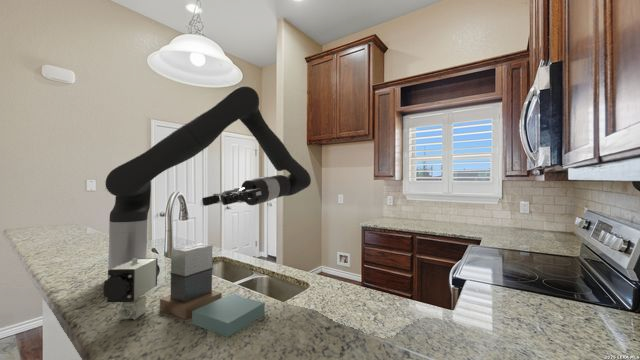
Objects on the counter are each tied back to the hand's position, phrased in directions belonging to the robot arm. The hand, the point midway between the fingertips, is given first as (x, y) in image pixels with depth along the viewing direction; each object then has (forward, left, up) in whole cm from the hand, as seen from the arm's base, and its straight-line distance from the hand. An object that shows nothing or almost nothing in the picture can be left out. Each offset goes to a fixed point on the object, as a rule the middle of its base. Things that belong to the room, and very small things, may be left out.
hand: (212, 201), depth 68 cm
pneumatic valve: (-6, -15, -24) cm, 29 cm away
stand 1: (+1, -6, -24) cm, 24 cm away
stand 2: (+13, -6, -24) cm, 28 cm away
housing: (+1, -6, -21) cm, 22 cm away
